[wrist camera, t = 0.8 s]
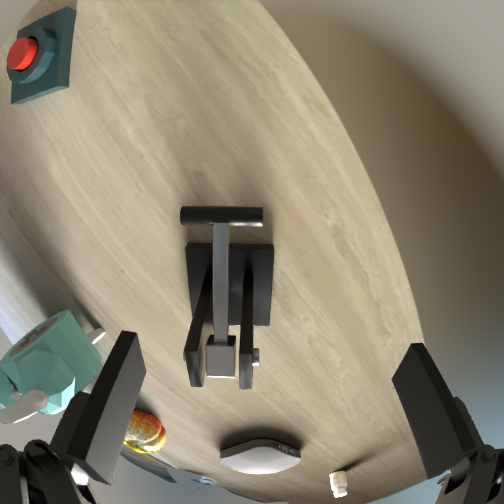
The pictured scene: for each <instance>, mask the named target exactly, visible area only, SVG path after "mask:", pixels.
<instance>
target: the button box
mask: <svg viewBox="0 0 504 504" xmlns="http://www.w3.org/2000/svg"><path fill="white" fill-rule="evenodd" d="M75 17H76V11H75V10H73V9H71V8H68V7H65V8H63V9H60V10H58V11H56V12H54V13H52V14H49V15H47V16H45V17H43V18H41V19H39V20H37V21H35V22H33V23H32V24H30V25H28V26H26V27H24V28H22V29H21V30H19V31H18V35H17V40H18V39H19V38H22V37H26V38H31V39H35V40H36V41H37V42H38V52H37V54H36V57H35V59H34V61H33V63H32V64H31V65H30V66H29V67H28V68H26V69H23V70H20V69H10V68H9V67H8V65H7V73H8V75H9V78H10V80H11V81H12V91H11V104H22V103H25V102H27V101H30V100H33V99H35V98H38V97H41V96H44V95H46V94H49V93H52V92H55V91H58V90H62V89H65V88H68V87H69V73H70V58H71V47H72V38H73V30H74V23H75ZM17 40H16V41H17ZM16 41H15V42H16Z"/></svg>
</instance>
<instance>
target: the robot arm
mask: <svg viewBox="0 0 504 504" xmlns="http://www.w3.org/2000/svg"><path fill="white" fill-rule="evenodd" d="M145 375H146V368H145V364H144V360H143V356H142V352H141V348H140V344H139V339H138V335H137V333H136V332H130V331H124V330H122V331H121V333H120V335H119V337H118V339H117V341H116V343H115V345H114V347H113V349H112V351H111V352H110V354H109V356H108V358H107V360H106V363H105V365H104V367H103V369H102V371H101V373H100V375H99V377H98V379H97V381H96V383H95V385H94V388H93V390H92V392H91V394H89V393H85V392H82V391H78V392H77V393H76V394H75V395H74V396H73V397H72V398H71V399H70V401H69V403H68V406H67V408H66V410H65V412H64V414H63V418H61V420H60V423H59V425H58V427H57V429H56V432H55V434H54V436H53V438H52V441H51V443H50V445H48V444H47V443H46V442H45V441H42V440H40V439H39V440H32V441H30V442H28V444H27V445H26V446H25V448H24V451H23V452H20V451H17V450H16V449H15V448H14V447H12V446H11V445H8V444H3V445H0V504H99V502H98V500H97V499H96V497H95V495H94V493H93V491H92V489H91V487H90V485H89V483H88V482H87V481H88V477H89V476H90V477H91V478H93V479H94V480H96V481H99V482H102V483H105V484H108V485H111V484H112V480H113V476H114V473H115V469H116V466H117V461H118V459H119V455H120V452H121V448H122V445H123V442H124V438H125V435H126V432H127V429H128V426H129V422H130V419H131V416H132V413H133V410H134V407H135V404H136V401H137V398H138V395H139V392H140V389H141V386H142V383H143V380H144V377H145ZM392 382H393V384H394V386H395V389H396V391H397V394H398V396H399V399H400V401H401V404H402V406H403V409H404V411H405V414H406V417H407V419H408V422H409V425H410V427H411V430H412V433H413V436H414V438H415V441H416V444H417V447H418V450H419V453H420V456H421V459H422V462H423V465H424V468H425V471H426V474H427V477H428V479H431V478H433V477H436V476H439V475H441V474H442V473H444V472H445V471H446V470H449V473H448V474H447V475H445V476H444V477H443V478H441V479H440V480H439V481H438V483H437V484H440V483H441V482H442V481H444V480H445V481H444V482H443V483H442V484H441V485H442V489H441V491H440V494H439V496H438V499H437V501H436V503H435V504H504V449H494V447H492V446H491V445H485V444H484V443H483V441H482V439H481V437H480V435H479V433H478V431H477V429H476V427H475V424H474V422H473V420H471V416H470V414H469V413H468V410H467V408H466V406H465V404H464V403H463V402H462V401H461V400H460V399H459V398H458V397H454V398H453V396H452V394H451V392H450V390H449V389H448V387H447V385H446V383H445V381H444V379H443V378H442V376H441V374H440V372H439V370H438V368H437V367H436V365H435V363H434V361H433V360H432V358H431V356H430V354H429V353H428V351H427V349H426V348H425V346H424V344H423V343H412V344H411V345H410V347H409V349H408V351H407V353H406V354H405V356H404V358H403V360H402V362H401V364H400V365H399V367H398V369H397V371H396V372H395V374H394V376H393V378H392ZM500 477H501V482H500V483H499V484H498V483H497V479H499V478H500Z"/></svg>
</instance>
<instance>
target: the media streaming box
mask: <svg viewBox="0 0 504 504" xmlns="http://www.w3.org/2000/svg"><path fill="white" fill-rule="evenodd" d="M300 461H301V455H300V451H298V450H296V449H294V448H292V447H289V446H287V445H284V444H282V443H279V442H277V441H274V440H269V439H257V440H252V441H249V442H246V443H243V444H240V445H237V446H234V447H231V448H228V449H226V450H223V451H221V453H220V462H221V463H222V464H223V465H225V466H227V467H229V468H231V469H234V470H236V471H239V472H243V473H249V474H269V473H275V472H279V471H283V470H286V469H288V468H291V467H293V466H295V465H297V464H298V463H299V462H300Z"/></svg>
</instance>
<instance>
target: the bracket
mask: <svg viewBox="0 0 504 504" xmlns="http://www.w3.org/2000/svg"><path fill="white" fill-rule="evenodd" d="M185 251H186V262H187V273H188V283H189V292H190V301H191V310H192V318H193V319H192V322H191V326H190V330H189V333H188V337H187V341H186V344H185V347H184V352H183V357H184V361H185V362H186V364H187V369H188V374H189V379H190V384H191V386H192V387H203V383H204V377H205V371H206V349H205V346H206V343H207V340H208V338H209V335H212V330H213V243H187V245H186V247H185ZM273 263H274V245H273V244H229V325H230V326H241V330H240V347H239V379H240V389H241V390H252V376H253V365H259V348H253V326H269V323H270V309H271V295H272V279H273Z"/></svg>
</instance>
